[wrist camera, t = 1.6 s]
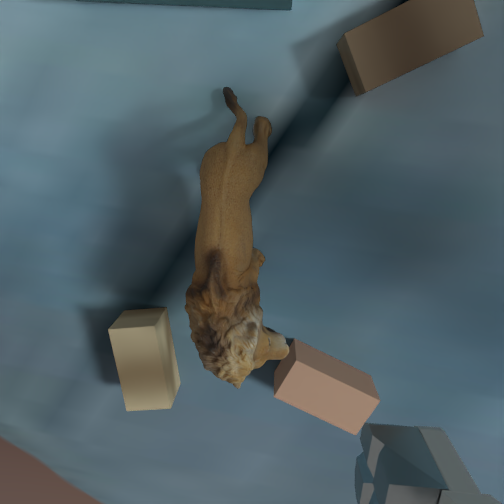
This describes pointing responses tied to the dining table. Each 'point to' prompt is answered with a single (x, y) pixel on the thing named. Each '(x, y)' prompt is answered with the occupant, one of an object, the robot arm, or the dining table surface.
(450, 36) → the walnut brick
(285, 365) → the terracotta brick
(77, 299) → the dining table surface
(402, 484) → the robot arm
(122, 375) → the oak brick
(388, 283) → the dining table surface
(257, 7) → the teal slab
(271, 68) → the dining table surface
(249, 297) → the lion figurine
